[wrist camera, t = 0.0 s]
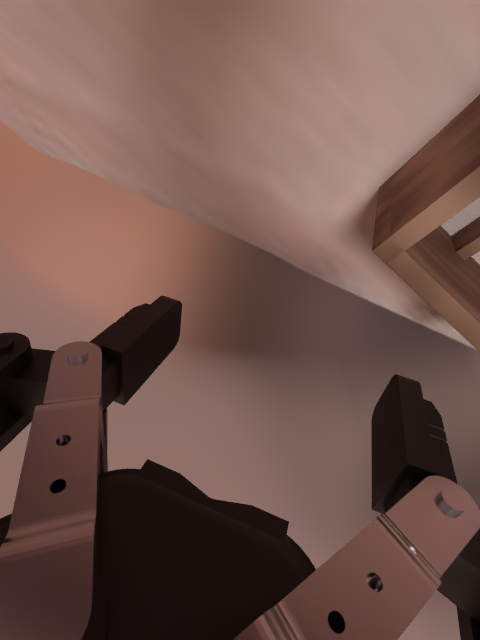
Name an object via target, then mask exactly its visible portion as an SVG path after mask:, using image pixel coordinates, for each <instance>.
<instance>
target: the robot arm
mask: <svg viewBox="0 0 480 640" xmlns="http://www.w3.org/2000/svg"><path fill="white" fill-rule="evenodd" d="M181 311H182V304H181V302H180V301H178V300H175V299H172V298H169V297H166V296H160V297H159V298H158V299H157V300H155V301H154V302H153V303H152V304H150V305H149V304H143V305H140V306H137V307H134V308H133V309H131V310H130V311H129V312H127V313H126V314H125V315H124V317H121V318H120V319H118V320H117V322H115V323H113V324H112V325H111V326H109V327H108V328H107V329H106V330H104V331H103V332H102V333H100V334H99V335H98V336H97V337H95V338H94V339H93V340H91V341H90V342H83V341H82V342H73V343H69V344H66V345H64V346H62V347H60V348H59V349H57V350H56V351H50V350H41V349H32V348H31V346H30V341H29V339H28V338H27V337H26V336H25V335H22V334H19V333H1V334H0V451H1V450H2V449H3V448H4V447H5V446H6V445H8V444H9V443H10V442H11V441H12V440H13V439H14V438H15V437H16V436H17V435H18V434H19V433H20V432H21V431H22V430H23V429H24V428H25V427H26V426H27V425H28V424H29V423H30V422H31V421H32V423H31V428H30V433H29V437H28V442H27V447H26V451H25V456H24V461H23V465H22V470H21V475H20V479H19V484H18V489H17V493H16V498H15V502H14V507H13V511H12V514H10V515H7V516H5V517H3V518H1V519H0V640H398V638H399V637H400V636H401V635H402V633H403V632H404V631H405V630H406V628H407V627H408V626H409V625H410V623H411V622H412V621H413V619H414V618H415V617H416V616H417V614H418V613H419V612H420V610H421V609H422V608H423V607H424V605H425V604H426V603H427V602H428V600H429V599H430V598H431V596H432V595H433V594H434V593H435V591H436V590H438V591H439V592H440V593H442V594H443V595H444V596H445V597H447V598H448V599H449V600H450V601H452V602H453V603H454V604H456V605H457V613H458V621H459V628H460V636H461V640H480V512H479V509H478V507H477V505H476V504H475V502H474V501H473V499H472V498H471V497H470V496H469V494H468V493H467V492H466V491H465V490H464V489H462V488H461V487H460V486H459V485H458V484H457V480H456V476H455V472H454V468H453V464H452V459H451V455H450V451H449V447H448V443H446V441H447V439H446V435H445V432H444V426H443V422H442V418H441V415H440V414H439V412H438V411H437V409H436V408H435V406H434V405H433V403H432V402H430V401H427V400H424V399H423V395H422V390H421V385H420V383H419V382H417V381H415V380H412V379H409V378H406V377H403V376H400V375H396V374H395V375H394V376H393V377H392V379H391V380H390V382H389V384H388V385H387V387H386V389H385V390H384V392H383V394H382V395H381V397H380V399H379V401H378V402H377V404H376V406H375V409H374V412H373V415H372V509H373V510H375V511H377V512H380V513H382V514H384V515H382V514H381V515H379V516H378V517H377V518H375V519H374V520H373V521H372V522H371V523H370V524H368V525H367V526H366V527H365V528H364V529H363V530H362V531H360V532H359V533H358V534H357V535H356V536H355V537H354V538H353V539H351V540H350V541H349V542H348V543H347V544H346V545H344V546H343V547H342V548H341V549H340V550H339V551H337V552H336V553H335V554H334V555H333V556H332V557H331V558H330V559H328V560H327V561H326V562H325V563H324V564H323V565H322V566H320V567H319V568H318V569H317V570H316V569H315V567H314V565H313V564H312V562H311V561H310V559H309V558H308V556H307V555H306V554H305V553H304V551H303V550H302V549H301V548H300V547H299V546H298V545H297V544H296V543H295V542H294V541H293V540H292V539H291V538H290V537H289V536H288V535H286V534H287V529H288V524H289V522H288V521H286V520H284V519H281V518H279V517H277V516H274V515H272V514H270V513H268V512H265V511H263V510H261V509H259V508H256V507H254V506H252V505H246V504H239V503H233V502H227V501H221V500H214V499H212V498H209V497H208V496H207V495H205V494H204V493H203V492H202V491H201V490H199V489H198V488H197V487H196V486H194V485H193V484H192V483H191V482H189V481H188V480H187V479H186V478H185V477H183V476H182V475H181V474H180V473H177V472H175V471H173V470H171V469H168V468H166V467H164V466H162V465H159V464H157V463H155V462H153V461H150V460H146V462H145V463H144V465H143V466H142V468H141V469H119V470H113V471H108V461H107V407H108V406H109V405H110V404H111V403H112V402H113V401H115V402H117V403H120V404H122V405H125V404H126V403H127V402H128V401H129V399H130V398H131V397H132V396H133V395H134V394H135V393H136V391H137V390H138V389H139V388H140V387H141V386H142V384H143V383H144V382H145V381H146V380H147V379H148V378H149V376H150V375H151V374H152V373H153V372H154V371H155V370H156V369H157V367H158V366H159V365H160V364H161V363H162V362H163V360H164V359H165V358H166V357H167V356H168V355H169V353H170V352H171V351H172V350H173V349H174V348H175V346H176V344H177V342H178V339H179V336H180V326H181V325H180V324H181Z"/></svg>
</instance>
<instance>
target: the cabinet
mask: <svg viewBox="0 0 480 640" xmlns="http://www.w3.org/2000/svg"><path fill="white" fill-rule="evenodd" d="M479 197H480V95H479V96H478V97H477V98H476V99H475V100H474V101H473V102H472V103H470V104H469V105H468V106H467V107H466V108H465V109H464V110H463V111H462V112H461V113H460V114H459V115H458V116H456V117H455V118H454V119H453V120H452V121H451V122H450V123H449V124H448V125H447V126H446V127H445V128H443V129H442V130H441V131H440V132H439V133H438V134H437V135H436V136H435V137H434V138H433V139H432V140H431V141H429V142H428V143H427V144H426V145H425V146H424V147H423V148H422V149H421V150H420V151H419V152H418V153H416V154H415V155H414V156H413V157H412V158H411V159H410V160H409V161H408V162H407V163H406V164H405V165H403V166H402V167H401V168H400V169H399V170H398V171H397V172H396V173H395V174H394V175H393V176H392V177H391V178H389V179H388V180H387V181H386V182H385V183H384V184H383V185H382V186H381V187H380V188H379V195H378V204H377V213H376V222H375V231H374V239H373V248H372V251H373V252H374V253H375V254H376V255H377V256H378V257H379V258H380V259H382V260H383V261H384V262H385V263H386V264H387V265H388V266H389V267H390V268H391V269H392V270H393V271H394V272H395V273H396V274H397V275H398V276H400V277H401V278H402V279H403V280H404V281H405V282H406V283H407V284H408V285H409V286H410V287H411V288H412V289H413V290H414V291H415V292H417V293H418V294H419V295H420V296H421V297H422V298H423V299H424V300H425V301H426V302H427V303H428V304H429V305H430V306H431V307H432V308H434V309H435V310H436V311H437V312H438V313H439V314H440V315H441V316H442V317H443V318H444V319H445V320H446V321H447V322H448V323H449V324H451V325H452V326H453V327H454V328H455V329H456V330H457V331H458V332H459V333H460V334H461V335H462V336H463V337H464V338H465V339H466V340H467V341H469V342H470V343H471V344H472V345H473V346H474V347H475V348H476V349H477V350H478V351H479V352H480V265H479V264H478V263H477V262H476V261H475V260H474V259H473V258H472V257H471V256H472V255H474V254H476V253H477V252H479V251H480V217H479V218H478V219H476V220H475V221H473V222H472V223H470V224H469V225H467V226H466V227H464V228H463V229H462V230H460V231H459V232H457V233H456V234H454V235H453V236H450V235H449V234H448V233H447V232H446V231H445V230H444V229H443V228H442V227H441V226H440V225H441V224H443V223H444V222H446V221H447V220H448V219H450V218H451V217H452V216H454V215H455V214H457V213H458V212H459V211H461V210H462V209H463V208H465V207H466V206H468V205H469V204H470V203H472V202H473V201H475V200H476V199H477V198H479Z"/></svg>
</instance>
